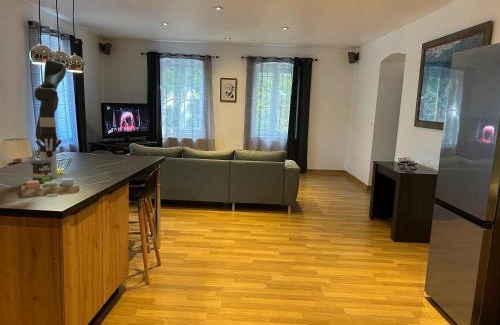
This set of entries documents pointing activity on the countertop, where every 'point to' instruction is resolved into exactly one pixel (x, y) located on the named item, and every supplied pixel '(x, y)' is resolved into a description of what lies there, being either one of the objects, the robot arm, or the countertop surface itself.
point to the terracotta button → (32, 184)
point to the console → (49, 189)
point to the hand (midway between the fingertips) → (49, 157)
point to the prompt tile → (52, 194)
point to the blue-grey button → (67, 181)
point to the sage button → (51, 184)
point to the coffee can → (41, 171)
